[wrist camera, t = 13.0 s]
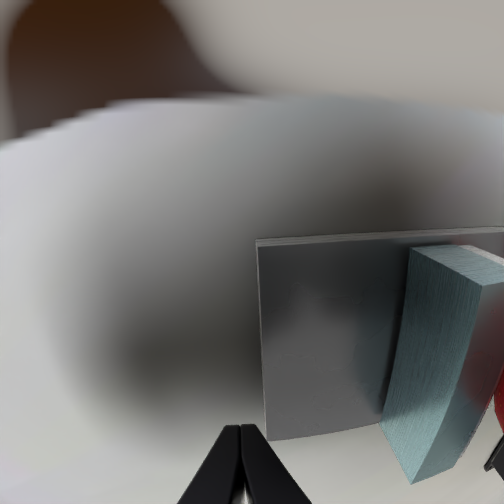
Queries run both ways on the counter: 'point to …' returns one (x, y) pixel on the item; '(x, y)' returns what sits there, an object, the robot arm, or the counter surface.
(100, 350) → the counter surface
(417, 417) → the block
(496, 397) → the strawberry
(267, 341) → the vise
